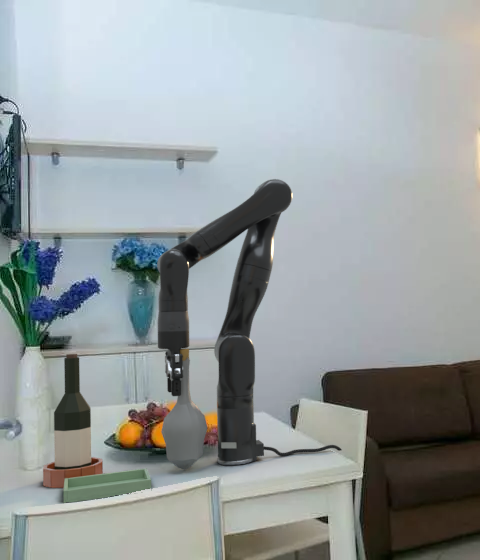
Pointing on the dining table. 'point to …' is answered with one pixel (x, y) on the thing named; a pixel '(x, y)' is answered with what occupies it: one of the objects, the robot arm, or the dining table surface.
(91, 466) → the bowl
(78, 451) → the wine bottle
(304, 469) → the dining table surface
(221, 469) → the dining table surface
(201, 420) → the bottle
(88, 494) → the tray
